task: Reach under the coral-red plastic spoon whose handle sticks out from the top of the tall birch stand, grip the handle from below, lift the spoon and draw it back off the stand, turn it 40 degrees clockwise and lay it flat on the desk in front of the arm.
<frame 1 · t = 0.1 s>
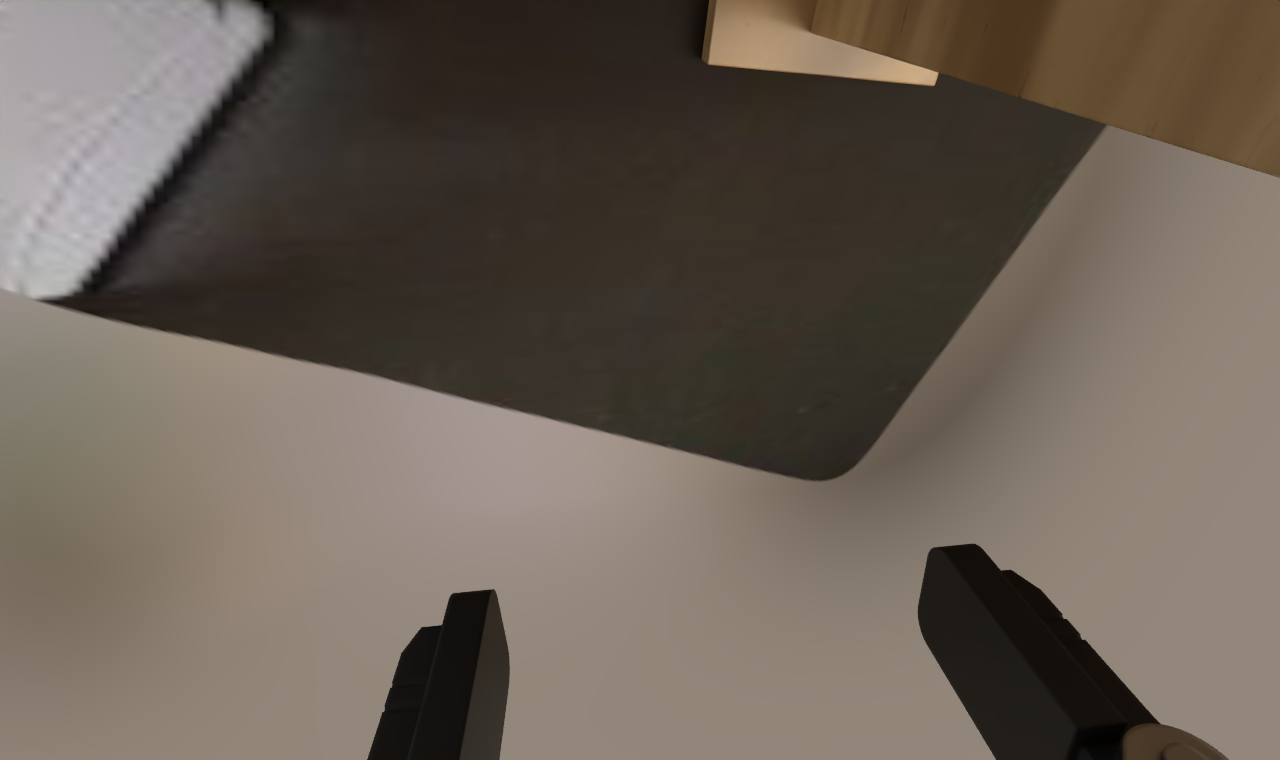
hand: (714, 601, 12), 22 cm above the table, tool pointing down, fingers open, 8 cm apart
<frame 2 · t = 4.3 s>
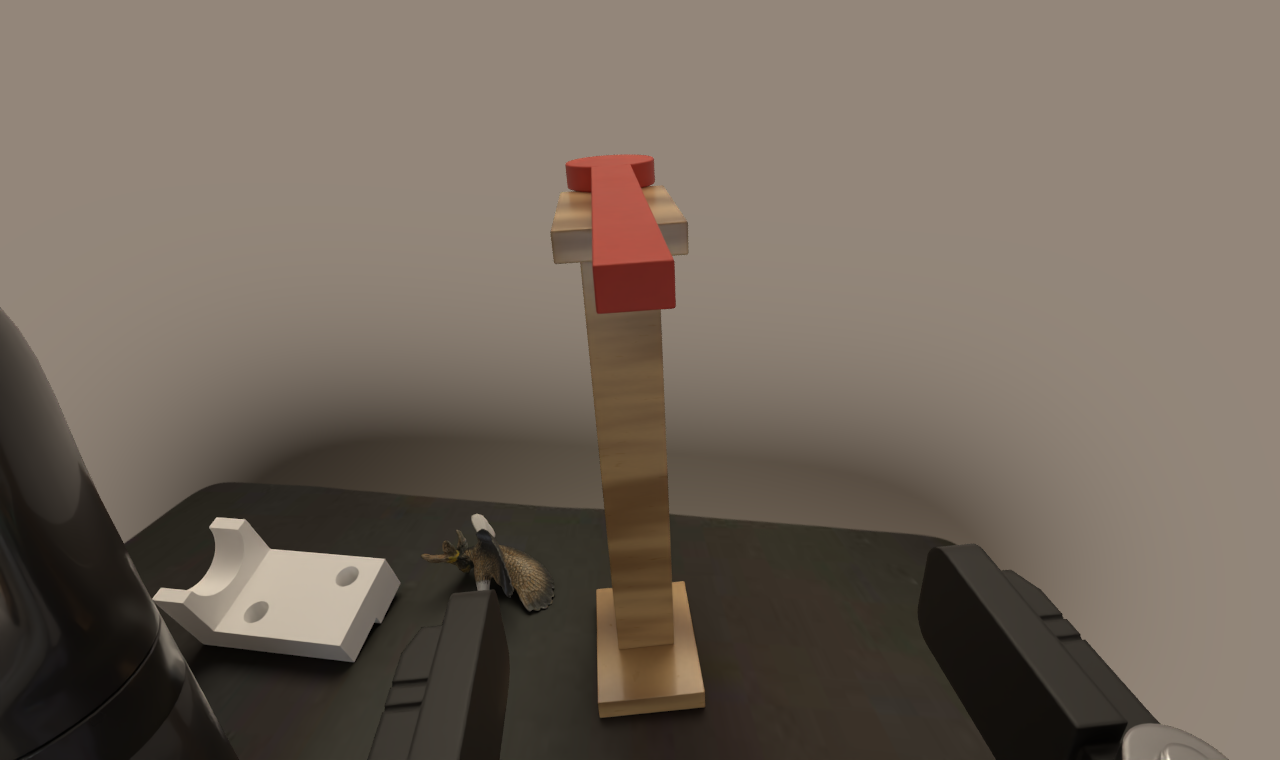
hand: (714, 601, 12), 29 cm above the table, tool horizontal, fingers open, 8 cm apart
stand: (646, 650, 46), on the table
bracket: (300, 626, 50), on the table
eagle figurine: (499, 591, 52), on the table
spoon: (618, 218, 28), point 32 cm above the table, touching stand
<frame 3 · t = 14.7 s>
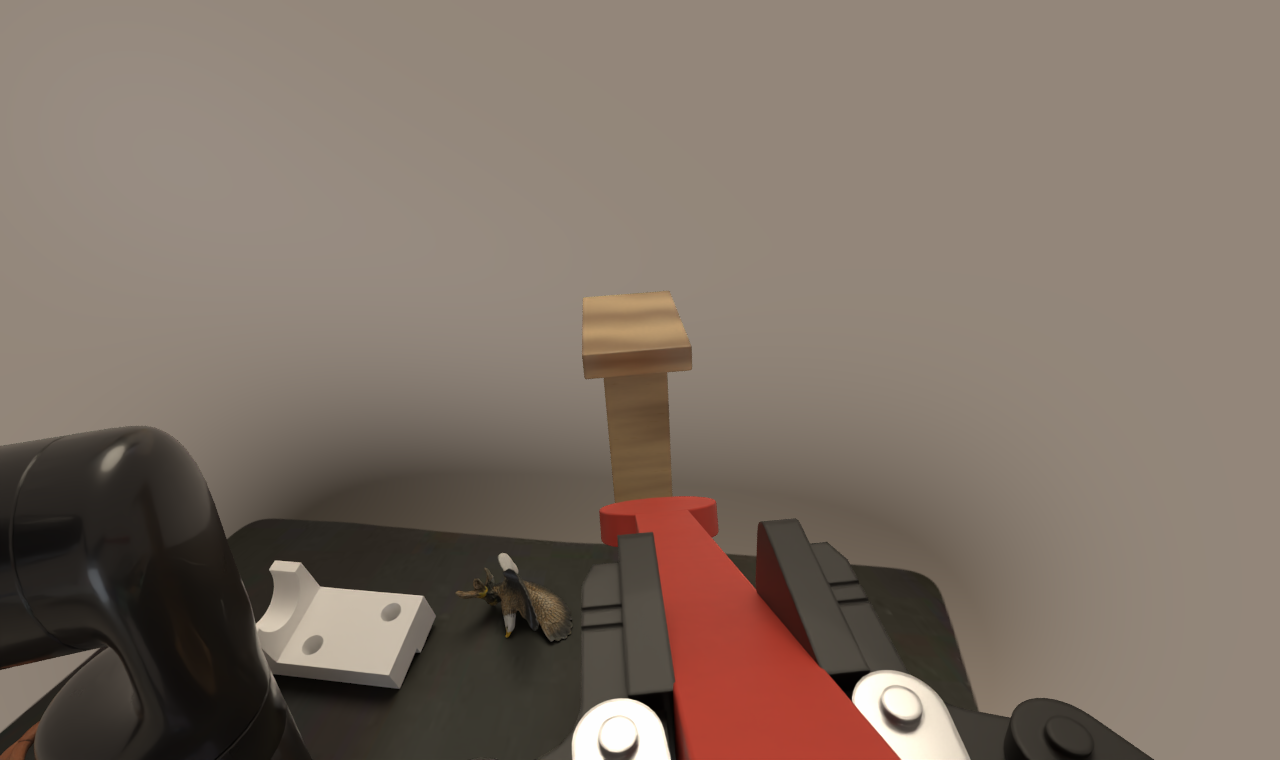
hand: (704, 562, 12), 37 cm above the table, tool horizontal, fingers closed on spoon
stand: (654, 676, 52), on the table
bracket: (349, 656, 56), on the table
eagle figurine: (523, 623, 59), on the table
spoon: (685, 597, 18), point 32 cm above the table, tilted 30°, touching gripper
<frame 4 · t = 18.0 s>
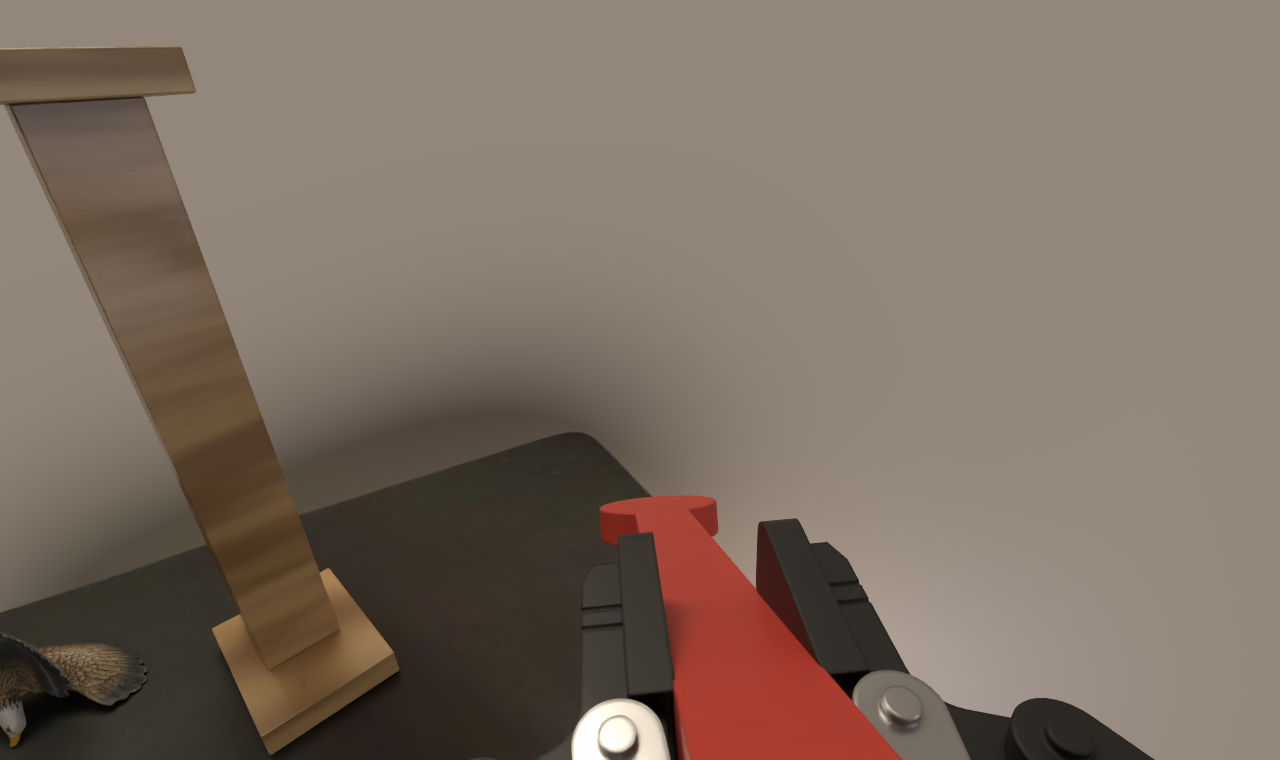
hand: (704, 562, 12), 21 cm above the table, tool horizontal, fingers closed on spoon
stand: (307, 657, 37), on the table
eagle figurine: (47, 711, 35), on the table
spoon: (684, 596, 18), point 17 cm above the table, tilted 30°, touching gripper
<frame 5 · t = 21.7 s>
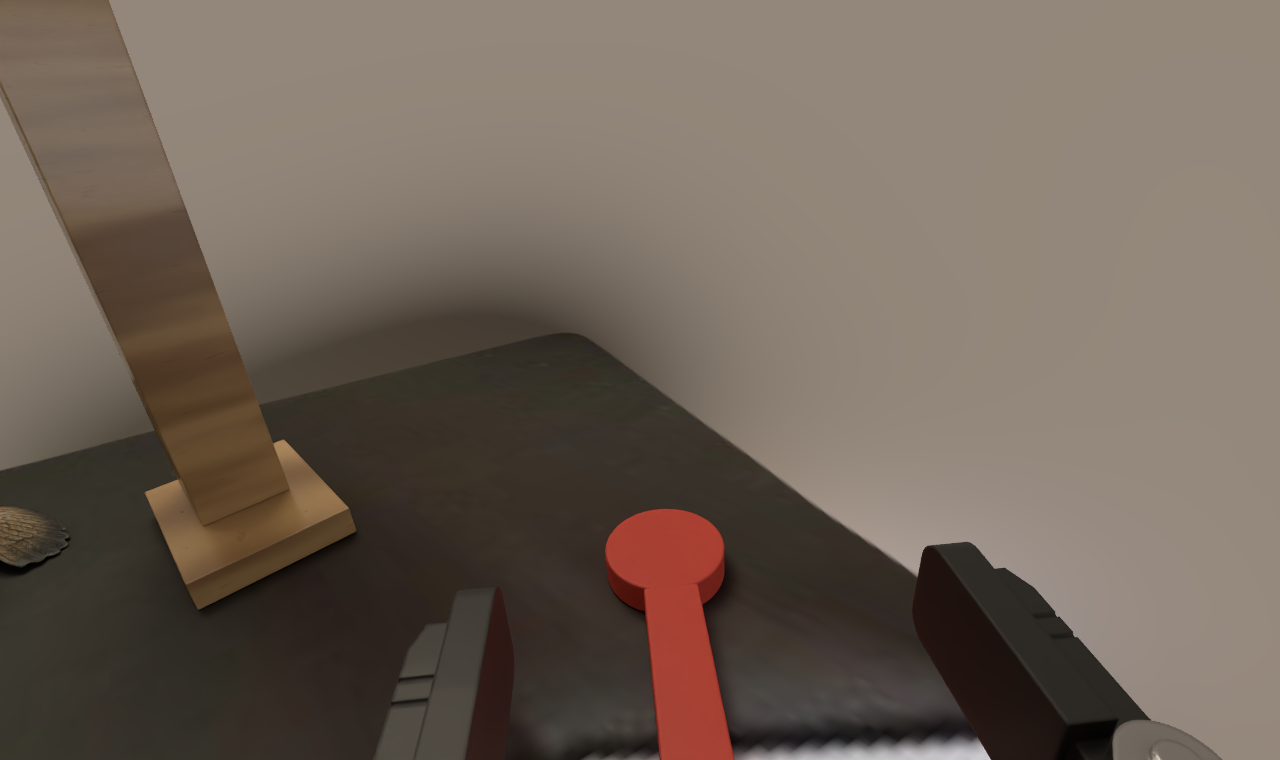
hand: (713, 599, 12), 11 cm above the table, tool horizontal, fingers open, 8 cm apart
stand: (252, 522, 33), on the table
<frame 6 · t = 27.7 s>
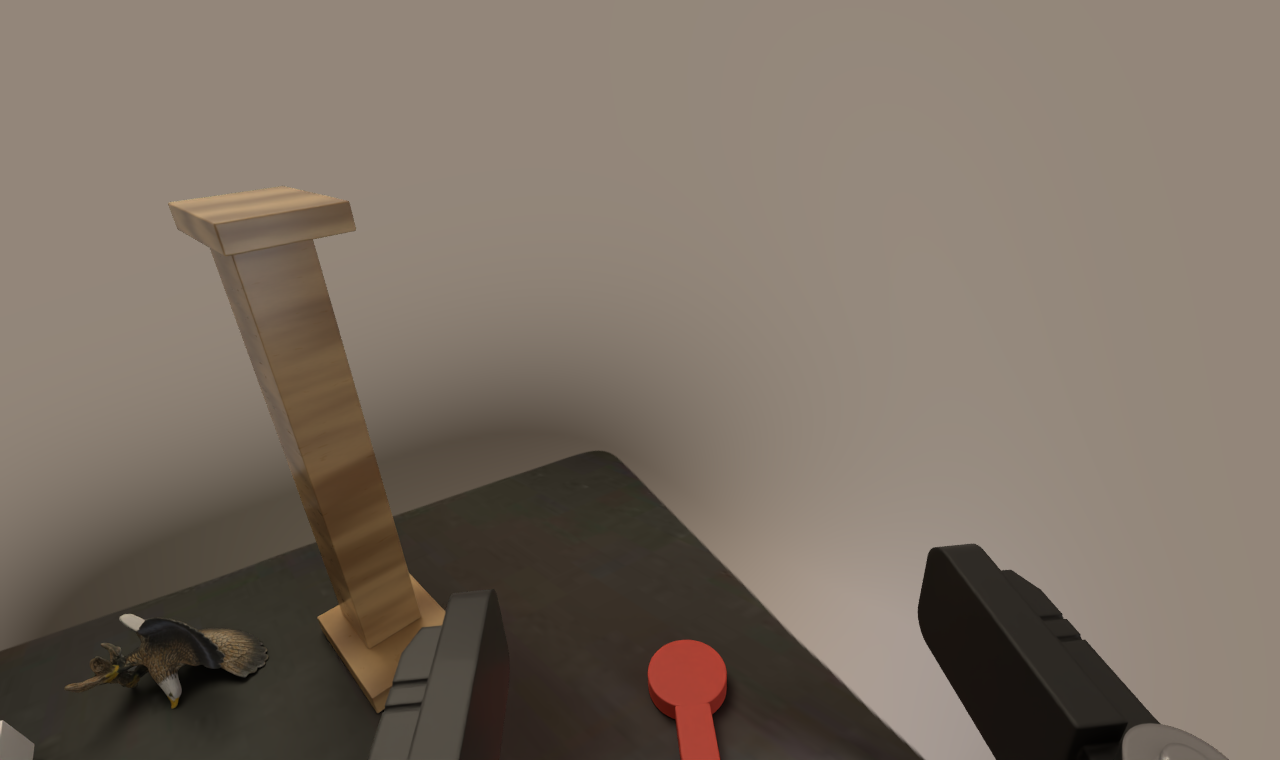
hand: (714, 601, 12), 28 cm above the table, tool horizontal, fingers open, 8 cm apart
stand: (394, 640, 46), on the table
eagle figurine: (193, 682, 44), on the table
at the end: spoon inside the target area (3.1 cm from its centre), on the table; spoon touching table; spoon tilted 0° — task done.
